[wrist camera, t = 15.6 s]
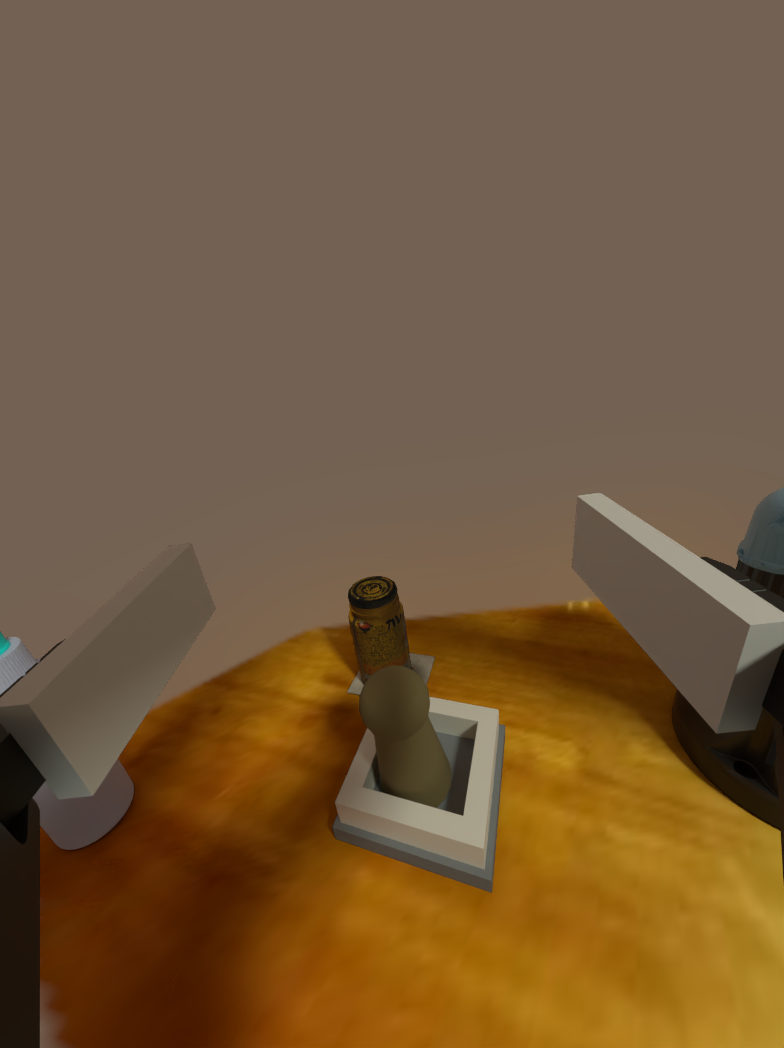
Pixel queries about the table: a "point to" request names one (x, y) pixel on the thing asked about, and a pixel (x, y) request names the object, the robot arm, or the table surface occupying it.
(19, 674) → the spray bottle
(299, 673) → the table surface
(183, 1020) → the table surface
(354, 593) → the condiment
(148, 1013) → the table surface
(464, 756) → the collar holder
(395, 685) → the cork
